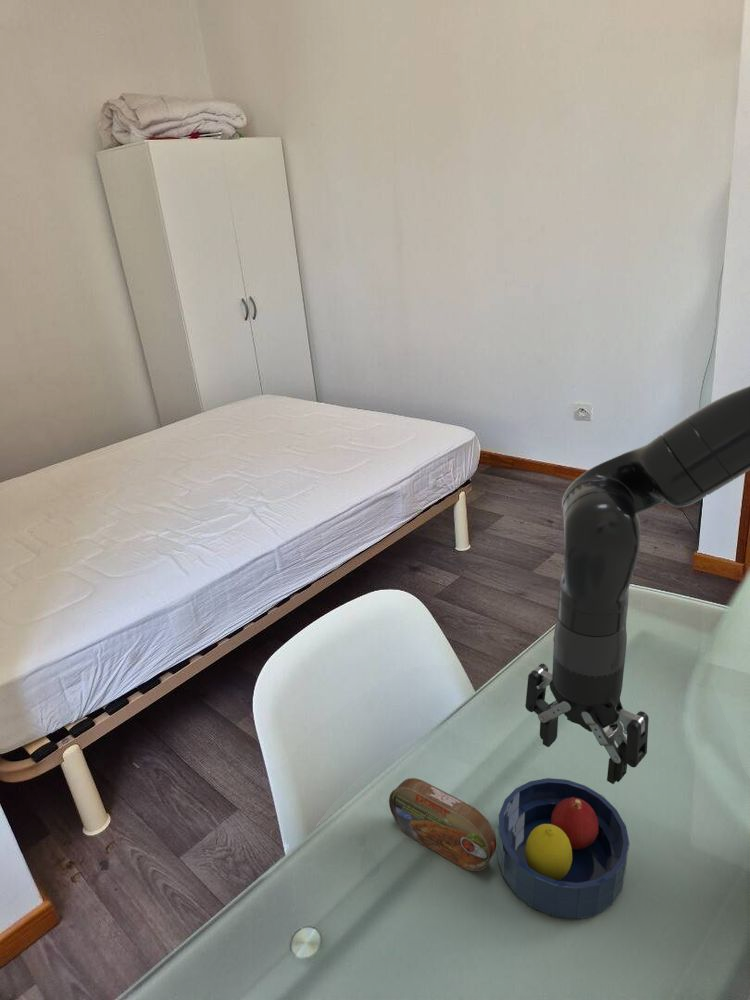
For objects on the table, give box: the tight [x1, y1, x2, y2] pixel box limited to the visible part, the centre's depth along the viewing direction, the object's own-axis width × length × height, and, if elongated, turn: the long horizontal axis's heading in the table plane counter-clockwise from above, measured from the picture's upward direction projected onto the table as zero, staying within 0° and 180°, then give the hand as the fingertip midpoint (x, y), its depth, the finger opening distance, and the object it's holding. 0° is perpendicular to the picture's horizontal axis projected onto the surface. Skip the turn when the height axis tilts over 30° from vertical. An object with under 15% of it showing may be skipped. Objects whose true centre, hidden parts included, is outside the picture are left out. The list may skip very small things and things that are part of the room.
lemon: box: [525, 824, 572, 881], centre depth 83 cm, size 6×6×8 cm
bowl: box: [497, 777, 630, 920], centre depth 86 cm, size 15×15×6 cm
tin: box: [388, 777, 497, 872], centre depth 88 cm, size 15×3×8 cm, turn 53°
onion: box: [551, 797, 598, 850], centre depth 87 cm, size 6×6×8 cm
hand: (580, 759), depth 82 cm, fingers open, 8 cm apart
